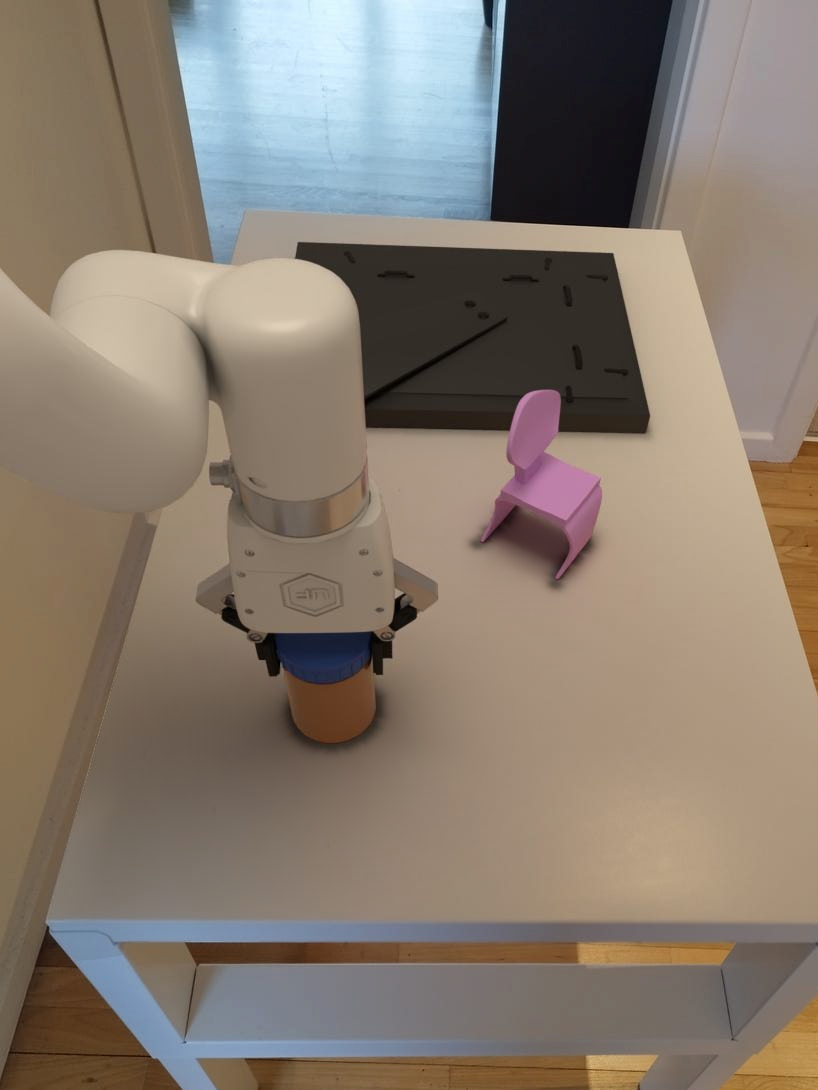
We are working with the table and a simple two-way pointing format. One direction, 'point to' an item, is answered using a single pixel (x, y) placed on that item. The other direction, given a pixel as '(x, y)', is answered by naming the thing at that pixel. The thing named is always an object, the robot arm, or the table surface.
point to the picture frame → (489, 335)
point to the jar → (333, 705)
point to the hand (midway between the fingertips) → (327, 658)
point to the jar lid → (323, 654)
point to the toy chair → (547, 476)
